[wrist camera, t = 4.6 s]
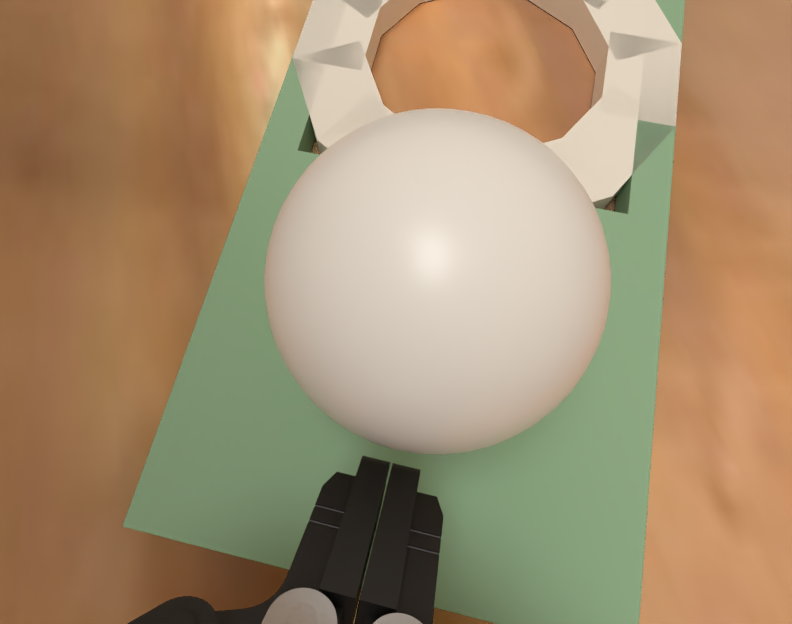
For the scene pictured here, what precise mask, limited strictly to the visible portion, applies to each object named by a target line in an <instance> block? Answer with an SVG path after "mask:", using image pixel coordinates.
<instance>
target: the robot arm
mask: <svg viewBox="0 0 792 624" xmlns="http://www.w3.org/2000/svg"><path fill="white" fill-rule="evenodd" d="M389 467H390V462H388V461H383V460H379V459H375V458H371V457H367V456H362V458H361V461H360V464H359V467H358V470H357V473H356V476H353V475H349V474H345V473H341V472H336V473H335V474H334V475H333V476H332V477H331V478H330V479H329V480H328V481H327V482H326V483H325V484H323V486H322V488H321V491H320V493H319V496H318V498H317V501H316V503H315V507H314V508H313V511H312V514H311V516H310V519H309V522H308V524H307V526H306V529H305V531H304V534H303V536H302V539H301V541H300V544H299V546H298V549H297V552H296V554H295V557H294V559H293V562H292V564H291V567H290V569H289V572H288V574H287V577H286V579H285V581H284V583H283V585H282V586H281V588H280V589H279V590H278V591H277V593H276V594H275V595H274V596H272V597H271V598H270V599H269V600H267V601H265V602H264V603H262V604H260V605H257V606H255V607H251V608H247V609H239V610H226V611H215V610H214V609H213V608H212V606H211V605H210V604H209V603H208V602H206V601H204V600H203V599H200V598H197V597H191V596H183V597H178V598H174V599H171V600H169V601H167V602H165V603H163V604H161V605H159V606H157V607H156V608H154V609H152V610H151V611H149V612H147V613H145V614H144V615H142V616H140V617H138V618H137V619H135V620H133V621H131V622H130V623H128V624H353V621H354V617H355V613H356V608H357V604H358V600H359V604H358V609H357V614H356V619H355V623H354V624H433V611H434V602H435V592H436V583H437V573H438V564H439V553H440V545H441V535H442V526H443V513H442V510H441V507H440V504H439V501H438V498H437V497H436V496H432V495H428V494H424V493H420V492H417V489H418V483H419V477H420V470H419V469H415V468H411V467H407V466H403V465H399V464H395V463H393V464H392V468H391V472H390V476H389V480H388V484H387V488H386V493H385V497H384V501H383V505H382V500H383V496H384V491H385V486H386V481H387V477H388V472H389ZM381 505H382V509H381ZM380 510H381V513H380ZM379 514H380V517H379ZM378 518H379V521H378ZM377 523H378V525H377ZM376 527H377V529H376ZM375 531H376V534H375ZM374 535H375V538H374ZM373 539H374V542H373ZM372 543H373V546H372ZM371 547H372V550H371ZM370 551H371V554H370ZM369 555H370V558H369ZM368 559H369V562H368ZM367 564H368V566H367ZM366 568H367V570H366ZM365 572H366V575H365ZM364 576H365V579H364ZM363 580H364V583H363ZM362 584H363V587H362ZM361 588H362V591H361ZM360 592H361V595H360ZM359 596H360V599H359Z"/></svg>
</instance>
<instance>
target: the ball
mask: <svg viewBox="0 0 792 624" xmlns="http://www.w3.org/2000/svg"><path fill="white" fill-rule="evenodd" d="M264 287H265V301H266V307H267V313H268V319H269V324H270V328H271V331H272V334H273V337H274V341H275V344H276V347H277V349H278V351H279V353H280V355H281V357H282V359H283V361H284V363H285V365H286V367H287V368H288V370H289V371H290V373H291V374H292V376H293V377H294V379H295V380H296V382H297V383H298V385H299V386H300V388H301V389H302V390H303V391H304V393H305V394H306V395H307V396H308V397H309V398H310V399H311V401H312V402H313V403H314V404H315V405H316V406H317V407H318V408H319V409H320V410H322V411H323V412H324V413H325V414H326V415H327V416H329V417H330V418H331V419H332V420H333V421H335V422H336V423H338V424H339V425H341V426H343V427H344V428H346V429H347V430H349V431H350V432H352V433H354V434H356V435H358V436H360V437H362V438H364V439H367V440H369V441H371V442H373V443H376V444H379V445H382V446H385V447H388V448H392V449H395V450H399V451H405V452H411V453H417V454H438V455H446V454H455V453H464V452H470V451H474V450H478V449H482V448H486V447H490V446H493V445H495V444H498V443H500V442H503V441H505V440H508V439H510V438H512V437H514V436H516V435H518V434H519V433H521V432H523V431H525V430H526V429H528V428H530V427H532V426H533V425H535V424H536V423H537V422H539V421H540V420H541V419H543V418H544V417H545V416H546V415H548V414H549V413H550V412H551V411H553V410H554V409H555V408H556V407H557V406H558V405H559V404H560V403H561V402H562V401H563V400H564V399H565V398H566V397H567V396H568V395H569V394H570V393H571V391H572V390H573V389H574V387H575V386H576V384H577V383H578V382H579V380H580V379H581V377H582V376H583V374H584V373H585V371H586V369H587V368H588V366H589V364H590V362H591V360H592V358H593V356H594V354H595V352H596V350H597V348H598V346H599V343H600V340H601V337H602V334H603V331H604V328H605V325H606V320H607V314H608V309H609V303H610V296H611V267H610V257H609V251H608V247H607V243H606V239H605V235H604V231H603V227H602V224H601V221H600V219H599V216H598V214H597V211H596V209H595V206H594V204H593V203H592V201H591V199H590V197H589V195H588V194H587V192H586V190H585V188H584V187H583V186H582V184H581V183H580V182H579V180H578V179H577V178H576V176H575V175H574V174H573V172H572V171H571V170H570V169H569V167H568V166H567V165H566V164H565V163H564V162H563V161H562V160H561V159H560V158H559V157H558V156H557V155H556V154H555V153H554V152H553V151H552V150H551V149H549V148H548V147H547V146H546V145H544V144H543V143H542V142H541V141H540V140H538V139H536V138H535V137H533V136H532V135H530V134H529V133H527V132H525V131H524V130H522V129H520V128H518V127H516V126H514V125H512V124H510V123H508V122H505V121H502V120H500V119H497V118H494V117H491V116H488V115H484V114H480V113H476V112H472V111H466V110H458V109H444V108H429V109H418V110H410V111H405V112H400V113H396V114H392V115H389V116H386V117H383V118H380V119H376V120H374V121H372V122H370V123H368V124H365V125H363V126H361V127H359V128H357V129H355V130H354V131H352V132H351V133H349V134H347V135H346V136H344V137H342V138H341V139H339V140H338V141H336V142H335V143H334V144H333V145H331V146H330V147H329V148H327V149H326V150H325V151H324V152H322V153H321V154H320V155H319V156H318V157H317V158H316V159H315V160H314V161H313V162H312V163H311V164H310V165H309V166H308V167H307V169H306V170H305V171H304V173H303V174H302V175H301V176H300V178H299V179H298V180H297V182H296V183H295V185H294V186H293V188H292V189H291V191H290V193H289V195H288V196H287V198H286V200H285V201H284V203H283V205H282V207H281V209H280V211H279V214H278V216H277V219H276V221H275V223H274V226H273V230H272V234H271V237H270V241H269V245H268V250H267V255H266V264H265V272H264Z"/></svg>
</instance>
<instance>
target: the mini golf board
mask: <svg viewBox="0 0 792 624" xmlns="http://www.w3.org/2000/svg"><path fill="white" fill-rule="evenodd" d="M427 1H431V0H313V2H312V5H311V7H310V10H309V13H308V16H307V19H306V21H305V24H304V27H303V30H302V32H301V35H300V38H299V41H298V43H297V46H296V49H295V52H294V54H293V57H292V60H291V63H290V65H289V68H288V71H287V74H286V76H285V79H284V82H283V85H282V88H281V90H280V93H279V96H278V99H277V101H276V104H275V107H274V110H273V112H272V115H271V118H270V121H269V123H268V126H267V129H266V132H265V134H264V137H263V140H262V143H261V145H260V148H259V151H258V154H257V157H256V159H255V162H254V165H253V168H252V170H251V173H250V176H249V179H248V181H247V184H246V187H245V190H244V192H243V195H242V198H241V201H240V203H239V206H238V209H237V212H236V215H235V217H234V220H233V223H232V226H231V228H230V231H229V234H228V237H227V239H226V242H225V245H224V248H223V250H222V253H221V256H220V259H219V261H218V264H217V267H216V270H215V272H214V275H213V278H212V281H211V284H210V286H209V289H208V292H207V295H206V297H205V300H204V303H203V306H202V308H201V311H200V314H199V317H198V319H197V322H196V325H195V328H194V330H193V333H192V336H191V339H190V341H189V344H188V347H187V350H186V353H185V355H184V358H183V361H182V364H181V366H180V369H179V372H178V375H177V377H176V380H175V383H174V386H173V388H172V391H171V394H170V397H169V399H168V402H167V405H166V408H165V410H164V413H163V416H162V419H161V422H160V424H159V427H158V430H157V433H156V435H155V438H154V441H153V444H152V446H151V449H150V452H149V455H148V457H147V460H146V463H145V466H144V468H143V471H142V474H141V477H140V479H139V482H138V485H137V488H136V491H135V493H134V496H133V499H132V502H131V504H130V507H129V510H128V513H127V515H126V518H125V521H124V524H123V526H122V527H126V528H130V529H134V530H138V531H142V532H146V533H149V534H153V535H157V536H161V537H165V538H169V539H172V540H176V541H180V542H184V543H188V544H192V545H196V546H199V547H203V548H207V549H211V550H215V551H219V552H222V553H226V554H230V555H234V556H238V557H242V558H246V559H249V560H253V561H257V562H261V563H265V564H269V565H272V566H276V567H280V568H284V569H288V570H289V569H290V567H291V564H292V562H293V559H294V557H295V554H296V552H297V549H298V546H299V544H300V541H301V539H302V536H303V534H304V531H305V529H306V526H307V524H308V522H309V519H310V516H311V514H312V511H313V508H314V507H315V503H316V501H317V498H318V496H319V493H320V491H321V488H322V486H323V484H325V483H326V482H327V481H328V480H329V479H330V478H331V477H332V476H333V475H334V474H335V473H336V472H341V473H345V474H349V475H353V476H356V473H357V470H358V467H359V464H360V461H361V458H362V456H367V457H371V458H375V459H379V460H383V461H388V462H390V467H389V472H388V477H387V481H386V486H385V491H384V496H383V500H382V505H383V501H384V497H385V493H386V488H387V484H388V480H389V476H390V472H391V468H392V464H393V463H395V464H399V465H403V466H407V467H411V468H415V469H419V470H420V477H419V483H418V489H417V492H420V493H424V494H428V495H432V496H436V497H437V498H438V501H439V504H440V507H441V510H442V513H443V526H442V535H441V545H440V553H439V564H438V573H437V583H436V592H435V602H434V608H438V609H442V610H445V611H449V612H453V613H457V614H461V615H465V616H468V617H472V618H476V619H480V620H484V621H488V622H492V623H495V624H639V616H640V602H641V589H642V575H643V561H644V548H645V534H646V521H647V507H648V494H649V480H650V467H651V453H652V440H653V426H654V412H655V399H656V385H657V372H658V358H659V345H660V331H661V318H662V304H663V291H664V277H665V263H666V250H667V236H668V223H669V209H670V196H671V182H672V169H673V155H674V142H675V128H676V114H677V101H678V87H679V74H680V60H681V47H682V33H683V20H684V6H685V0H529V1H531V2H532V3H534V4H535V5H537V6H538V7H540V8H541V9H543V10H544V11H546V12H547V13H549V14H550V15H552V16H553V17H555V18H557V19H558V20H560V21H561V22H563V23H564V24H566V25H567V26H569V27H570V28H572V29H573V31H574V33H575V35H576V37H577V39H578V40H579V42H580V44H581V46H582V48H583V50H584V52H585V54H586V56H587V57H588V59H589V61H590V63H591V65H592V67H593V69H594V71H595V72H596V74H595V82H594V89H593V97H592V104H591V109H590V110H589V111H588V112H587V113H586V114H585V115H584V116H583V117H582V118H581V119H580V120H579V121H578V122H577V123H576V124H575V125H574V127H573V128H572V129H571V130H570V131H569V132H568V133H567V134H566V135H565V136H564V137H563V138H560V139H557V140H553V141H550V142H546V143H543V144H544V145H546V146H547V147H548V148H549V149H551V150H552V151H553V152H554V153H555V154H556V155H557V156H558V157H559V158H560V159H561V160H562V161H563V162H564V163H565V164H566V165H567V166H568V167H569V169H570V170H571V171H572V172H573V174H574V175H575V176H576V178H577V179H578V180H579V182H580V183H581V184H582V186H583V187H584V188H585V190H586V192H587V194H588V195H589V197H590V199H591V201H592V203H593V204H594V206H595V209H596V211H597V214H598V216H599V219H600V221H601V224H602V227H603V231H604V235H605V239H606V243H607V247H608V251H609V257H610V267H611V296H610V303H609V309H608V314H607V320H606V325H605V328H604V331H603V334H602V337H601V340H600V343H599V346H598V348H597V350H596V352H595V354H594V356H593V358H592V360H591V362H590V364H589V366H588V368H587V369H586V371H585V373H584V374H583V376H582V377H581V379H580V380H579V382H578V383H577V384H576V386H575V387H574V389H573V390H572V391H571V393H570V394H569V395H568V396H567V397H566V398H565V399H564V400H563V401H562V402H561V403H560V404H559V405H558V406H557V407H556V408H555V409H554V410H553V411H551V412H550V413H549V414H548V415H546V416H545V417H544V418H543V419H541V420H540V421H539V422H537V423H536V424H535V425H533V426H532V427H530V428H528V429H526V430H525V431H523V432H521V433H519V434H518V435H516V436H514V437H512V438H510V439H508V440H505V441H503V442H500V443H498V444H495V445H493V446H490V447H486V448H482V449H478V450H474V451H470V452H464V453H455V454H446V455H438V454H417V453H411V452H405V451H399V450H395V449H392V448H388V447H385V446H382V445H379V444H376V443H373V442H371V441H369V440H367V439H364V438H362V437H360V436H358V435H356V434H354V433H352V432H350V431H349V430H347V429H346V428H344V427H343V426H341V425H339V424H338V423H336V422H335V421H333V420H332V419H331V418H330V417H329V416H327V415H326V414H325V413H324V412H323V411H322V410H320V409H319V408H318V407H317V406H316V405H315V404H314V403H313V402H312V401H311V399H310V398H309V397H308V396H307V395H306V394H305V393H304V391H303V390H302V389H301V388H300V386H299V385H298V383H297V382H296V380H295V379H294V377H293V376H292V374H291V373H290V371H289V370H288V368H287V367H286V365H285V363H284V361H283V359H282V357H281V355H280V353H279V351H278V349H277V347H276V344H275V341H274V337H273V334H272V331H271V328H270V324H269V319H268V313H267V307H266V301H265V287H264V272H265V264H266V255H267V250H268V245H269V241H270V237H271V234H272V230H273V226H274V223H275V221H276V219H277V216H278V214H279V211H280V209H281V207H282V205H283V203H284V201H285V200H286V198H287V196H288V195H289V193H290V191H291V189H292V188H293V186H294V185H295V183H296V182H297V180H298V179H299V178H300V176H301V175H302V174H303V173H304V171H305V170H306V169H307V167H308V166H309V165H310V164H311V163H312V162H313V161H314V160H315V159H316V158H317V157H318V156H319V154H314V153H311V150H312V147H313V144H314V140H315V138H316V141H317V144H318V148H319V151H320V154H321V153H322V152H324V151H325V150H326V149H327V148H329V147H330V146H331V145H333V144H334V143H335V142H336V141H338V140H339V139H341V138H342V137H344V136H346V135H347V134H349V133H351V132H352V131H354V130H355V129H357V128H359V127H361V126H363V125H365V124H368V123H370V122H372V121H374V120H376V119H380V118H383V117H386V116H389V115H392V114H394V113H393V112H392V111H390V110H389V109H388V108H386V107H385V106H384V105H383V103H382V100H381V97H380V94H379V92H378V89H377V86H376V83H375V81H374V78H373V75H372V72H371V68H372V65H373V62H374V58H375V55H376V52H377V48H378V45H379V42H380V38H381V36H382V35H383V34H384V33H385V32H386V31H388V30H389V29H390V28H391V27H392V26H394V25H395V24H396V23H397V22H398V21H399V20H401V19H402V18H403V17H404V16H405V15H406V14H408V13H409V12H410V11H411V10H412V9H414V8H415V7H416V6H417V5H418V4H419V3H423V2H427ZM615 196H616V202H615V211H609V210H604V208H605V207H606V206H607V205H608V204H609V202H610V201H611V200H612V199H613V198H614V197H615ZM382 505H381V509H382ZM380 513H381V510H380ZM379 517H380V514H379ZM378 521H379V518H378ZM377 525H378V523H377ZM376 529H377V527H376ZM375 534H376V531H375ZM374 538H375V535H374ZM373 542H374V539H373ZM372 546H373V543H372ZM371 550H372V547H371ZM370 554H371V551H370ZM369 558H370V555H369ZM368 562H369V559H368ZM367 566H368V564H367ZM366 570H367V568H366ZM365 575H366V572H365ZM364 579H365V576H364ZM363 583H364V580H363ZM362 587H363V584H362ZM361 589H362V588H361Z"/></svg>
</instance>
